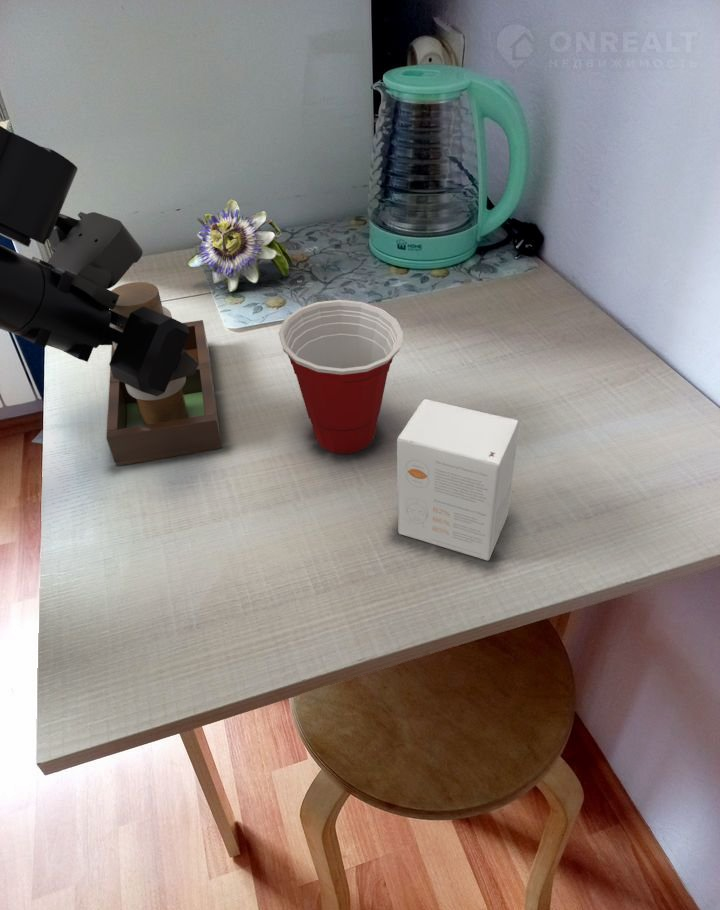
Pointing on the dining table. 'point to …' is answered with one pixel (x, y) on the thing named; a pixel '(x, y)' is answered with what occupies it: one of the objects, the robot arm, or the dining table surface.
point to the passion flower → (237, 246)
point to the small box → (455, 477)
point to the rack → (170, 437)
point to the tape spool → (173, 399)
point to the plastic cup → (341, 367)
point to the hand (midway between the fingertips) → (162, 353)
